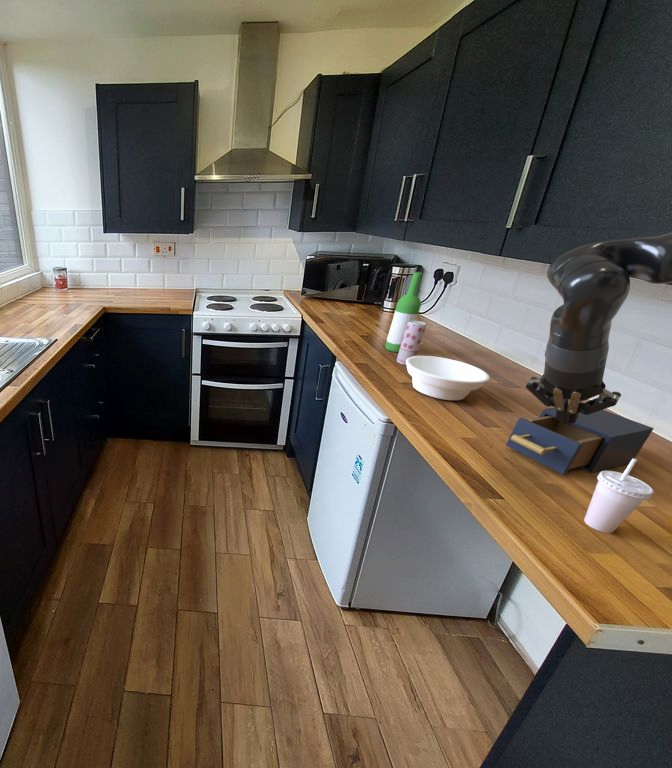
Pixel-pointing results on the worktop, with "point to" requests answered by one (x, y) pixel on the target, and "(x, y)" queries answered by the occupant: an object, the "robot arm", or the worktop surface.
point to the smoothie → (615, 499)
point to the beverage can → (411, 341)
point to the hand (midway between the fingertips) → (566, 420)
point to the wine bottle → (404, 314)
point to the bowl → (444, 377)
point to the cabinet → (610, 437)
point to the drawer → (554, 443)
